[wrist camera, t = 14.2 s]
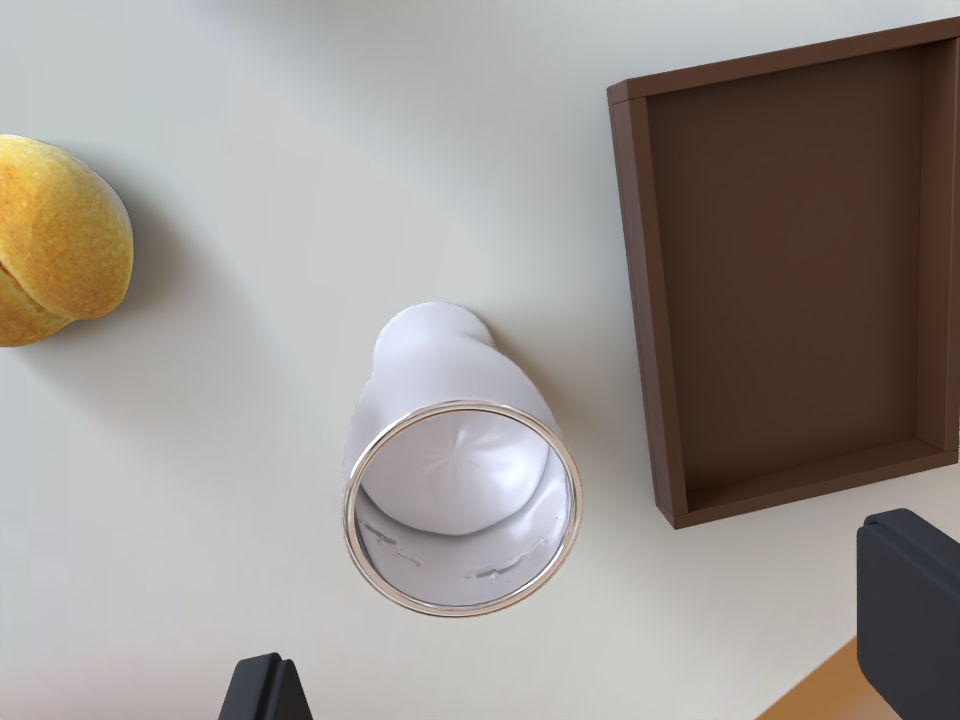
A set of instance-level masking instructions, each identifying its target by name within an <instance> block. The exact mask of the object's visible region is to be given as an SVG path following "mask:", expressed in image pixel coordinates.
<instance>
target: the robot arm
mask: <svg viewBox="0 0 960 720" xmlns="http://www.w3.org/2000/svg"><path fill="white" fill-rule="evenodd" d="M857 658H858V663H859V666H860V668H861V671H862V673H863V674H864V676H865V678H866V679H867V680H868V682H869V683H870V684H871V685H872V686H873V687H874V688H875V689H876V691H877V692H878V693H879V694H880V695H881V696H882V697H883V698H884V700H885V701H886V702H887V703H888V704H889V705H890V706H891V707H892V708H893V710H894V711H896V713H897V714H898V715H899V716H900V717H901V718H902V719H903V720H960V544H959V543H958V542H956V541H955V540H953V539H952V538H951V537H949V536H948V535H946V534H945V533H943V532H942V531H940V530H939V529H937V528H936V527H934V526H933V525H931V524H930V523H928V522H927V521H925V520H924V519H922V518H921V517H920V516H918V515H917V514H915V513H914V512H912V511H910V510H908V509H905V508H899V509H895V510H891V511H886V512H882V513H878V514H873V515H870V516H868V517H866V519H865V521H864V526H863V527H860V528H859V529H858V531H857ZM218 720H313V718H312V715H311V712H310V709H309V706H308V703H307V700H306V697H305V694H304V691H303V688H302V685H301V682H300V679H299V676H298V673H297V670H296V667H295V665H294V663H293V661H292V660H291V659H288V660H283V661H282V659H281V656H280V655H279V654H278V653H275V652H274V653H270V654H266V655H261V656H257V657H253V658H248V659H244V660H241V661H239V662H238V664H237V666H236V668H235V671H234V674H233V677H232V680H231V683H230V686H229V688H228V691H227V694H226V697H225V700H224V703H223V706H222V709H221V712H220V715H219V718H218Z"/></svg>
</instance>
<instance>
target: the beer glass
mask: <svg viewBox="0 0 960 720" xmlns="http://www.w3.org/2000/svg"><path fill="white" fill-rule="evenodd" d="M372 368H373V374H372V376H371V377H370V379H369V380H368V382H367V384H366V385H365V387H364V389H363V390H362V392H361V394H360V396H359V398H358V400H357V402H356V405H355V407H354V410H353V413H352V417H351V420H350V424H349V427H348V431H347V436H346V443H345V451H344V459H343V497H342V504H341V526H342V532H343V537H344V541H345V544H346V547H347V550H348V553H349V555H350V557H351V559H352V561H353V563H354V565H355V566H356V568H357V569H358V571H359V572H360V574H361V575H362V576H363V577H364V579H365V580H366V581H367V582H368V583H369V584H370V585H371V586H372V587H373V588H374V589H375V590H376V591H378V592H379V593H380V594H381V595H383V596H384V597H386V598H387V599H388V600H390V601H392V602H394V603H395V604H397V605H399V606H401V607H403V608H406V609H408V610H411V611H414V612H417V613H420V614H424V615H428V616H433V617H441V618H470V617H477V616H482V615H487V614H491V613H494V612H497V611H500V610H503V609H505V608H508V607H510V606H512V605H515V604H517V603H519V602H520V601H522V600H524V599H526V598H527V597H529V596H530V595H532V594H533V593H534V592H536V591H537V590H538V589H540V588H541V587H542V586H543V585H544V584H545V583H547V582H548V581H549V580H550V579H551V578H552V577H553V576H554V574H555V573H556V572H557V571H558V570H559V568H560V567H561V566H562V564H563V563H564V562H565V560H566V558H567V557H568V555H569V553H570V552H571V550H572V548H573V546H574V543H575V541H576V538H577V536H578V532H579V529H580V525H581V520H582V513H583V492H582V485H581V480H580V476H579V473H578V470H577V467H576V464H575V462H574V460H573V458H572V456H571V454H570V452H569V451H568V449H567V447H566V444H565V441H564V439H563V436H562V434H561V432H560V429H559V427H558V424H557V422H556V420H555V418H554V416H553V414H552V412H551V410H550V409H549V407H548V405H547V403H546V401H545V399H544V398H543V396H542V395H541V393H540V392H539V390H538V389H537V388H536V386H535V385H534V384H533V383H532V381H531V380H530V379H529V377H528V376H527V375H526V374H525V373H524V372H523V371H522V369H521V368H519V367H518V366H517V365H516V364H515V363H514V362H512V361H511V360H510V359H509V358H507V357H506V356H505V355H503V354H502V353H501V352H499V351H498V350H496V346H495V343H494V340H493V338H492V335H491V333H490V332H489V330H488V329H487V327H486V326H485V325H484V323H483V322H482V321H481V320H480V319H479V318H478V317H477V316H476V315H474V314H473V313H472V312H470V311H469V310H467V309H465V308H463V307H461V306H458V305H455V304H452V303H447V302H424V303H419V304H416V305H413V306H410V307H408V308H406V309H404V310H402V311H401V312H399V313H398V314H396V315H395V316H394V317H393V318H392V319H391V320H390V321H389V322H388V323H387V324H386V325H385V326H384V328H383V329H382V331H381V332H380V334H379V336H378V338H377V341H376V343H375V346H374V351H373V357H372Z"/></svg>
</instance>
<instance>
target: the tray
mask: <svg viewBox="0 0 960 720" xmlns="http://www.w3.org/2000/svg"><path fill="white" fill-rule="evenodd" d="M607 96H608V104H609V113H610V121H611V129H612V138H613V146H614V155H615V163H616V172H617V180H618V189H619V197H620V205H621V214H622V222H623V231H624V239H625V248H626V256H627V265H628V273H629V281H630V290H631V298H632V307H633V315H634V324H635V332H636V341H637V349H638V357H639V366H640V374H641V383H642V391H643V400H644V408H645V417H646V425H647V433H648V442H649V450H650V459H651V467H652V476H653V484H654V493H655V501H656V506H657V507H658V508H659V510H660V511H661V513H662V514H663V515H664V516H665V518H666V519H667V520H668V521H669V523H670V524H671V525H672V527H673V528H674V529H675V530H677V529H682V528H686V527H690V526H694V525H698V524H703V523H707V522H711V521H715V520H720V519H724V518H728V517H732V516H736V515H741V514H745V513H749V512H753V511H757V510H762V509H766V508H770V507H774V506H779V505H783V504H787V503H791V502H795V501H800V500H804V499H808V498H812V497H817V496H821V495H825V494H829V493H833V492H838V491H842V490H846V489H850V488H855V487H859V486H863V485H867V484H871V483H876V482H880V481H884V480H888V479H893V478H897V477H901V476H905V475H909V474H914V473H918V472H922V471H926V470H930V469H935V468H939V467H943V466H947V465H952V464H956V463H958V456H959V450H958V448H959V421H960V16H958V17H953V18H947V19H942V20H937V21H932V22H926V23H921V24H916V25H911V26H905V27H900V28H895V29H890V30H884V31H879V32H874V33H868V34H863V35H858V36H853V37H847V38H842V39H837V40H832V41H826V42H821V43H816V44H810V45H805V46H800V47H795V48H789V49H784V50H779V51H774V52H768V53H763V54H758V55H753V56H747V57H742V58H737V59H731V60H726V61H721V62H716V63H710V64H705V65H700V66H695V67H689V68H684V69H679V70H674V71H668V72H663V73H658V74H652V75H647V76H642V77H637V78H631V79H626V80H624V81H621V82H619V83H617V84H614V85H612V86H610V87H608V88H607Z"/></svg>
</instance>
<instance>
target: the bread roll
mask: <svg viewBox="0 0 960 720" xmlns="http://www.w3.org/2000/svg"><path fill="white" fill-rule="evenodd" d="M133 260H134V245H133V232H132V226H131V222H130V218H129V215H128V213H127V210H126V209H125V207H124V204H123V202H122V201H121V199H120V197H119V196H118V194H117V193H116V192H115V191H114V189H113V188H112V187H111V186H110V185H109V184H108V183H107V181H106V180H105V179H104V178H102V177H101V176H100V175H99V174H97V173H96V172H95V171H93V170H92V169H91V168H89V167H88V166H87V165H86V164H84V163H83V162H82V161H80V160H79V159H77V158H76V157H74V156H72V155H71V154H69V153H67V152H65V151H64V150H62V149H60V148H58V147H55V146H53V145H50V144H47V143H45V142H42V141H36V140H34V139H28V138H24V137H20V136H16V135H7V134H3V135H1V134H0V347H17V346H23V345H28V344H33V343H36V342H38V341H41V340H43V339H46V338H48V337H50V336H51V335H53V334H55V333H56V332H58V331H59V330H60V329H61V328H63V327H64V326H66V325H67V324H69V323H71V322H73V321H75V320H77V319H83V320H90V319H95V318H99V317H102V316H104V315H106V314H108V313H110V312H111V311H112V310H113V309H115V308H116V307H117V306H118V305H119V304H120V303H121V301H122V300H123V299H124V296H125V294H126V292H127V290H128V287H129V283H130V279H131V274H132V268H133Z"/></svg>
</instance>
